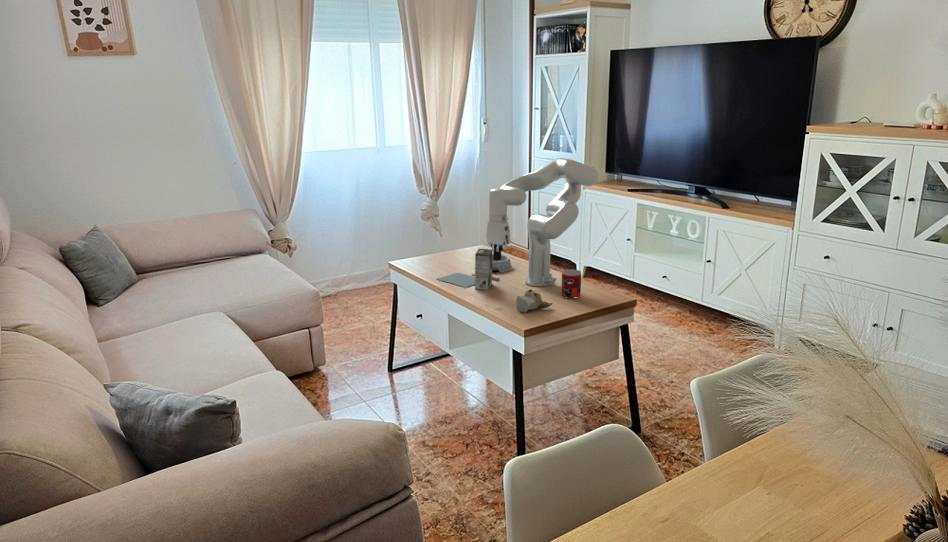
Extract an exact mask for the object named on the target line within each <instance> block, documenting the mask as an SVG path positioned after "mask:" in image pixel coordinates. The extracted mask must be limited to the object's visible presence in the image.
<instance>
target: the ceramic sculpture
mask: <svg viewBox="0 0 948 542" xmlns="http://www.w3.org/2000/svg"><path fill="white" fill-rule="evenodd" d="M552 305H553V303H552V302H548V301H543V299H542V295H541V294H540V292H536V291H534V290H532V289H528V290H525V293H524V295H517V296H516V300H515V306H516V309H517V310H518V311H519V312H520V313H528V312H529V310H530V311H532V310H537V309H543V310H544V309H547V308H549V307H551V306H552Z"/></svg>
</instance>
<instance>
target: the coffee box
mask: <svg viewBox="0 0 948 542" xmlns="http://www.w3.org/2000/svg"><path fill="white" fill-rule="evenodd" d="M474 254H475V255H474V257H475V258H474V259H475V260H474V261H475V264H474V266H475V267H474V273H475V276H474V277H475V285H474V290H475V289H476V290H488V291H489V289H490V288H491V286H492V284H493V280H492V276H493V270H492V254H493V250H492V249H487V248H478V249H477V251H476V253H474Z"/></svg>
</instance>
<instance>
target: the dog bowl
mask: <svg viewBox="0 0 948 542" xmlns="http://www.w3.org/2000/svg"><path fill="white" fill-rule="evenodd" d="M512 266H513V265H512V263H511V258H510V256H508V255H505V254H501V260H497V261H496V260H493V253H492V271H499V273H505V272H509V271H511V270H512V269H513V267H512Z"/></svg>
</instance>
